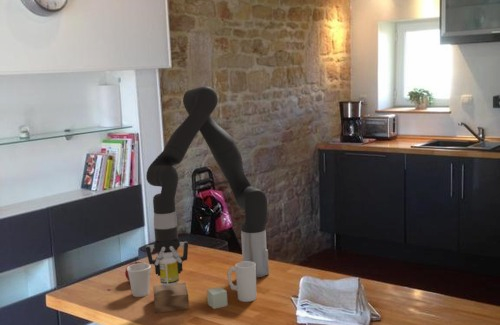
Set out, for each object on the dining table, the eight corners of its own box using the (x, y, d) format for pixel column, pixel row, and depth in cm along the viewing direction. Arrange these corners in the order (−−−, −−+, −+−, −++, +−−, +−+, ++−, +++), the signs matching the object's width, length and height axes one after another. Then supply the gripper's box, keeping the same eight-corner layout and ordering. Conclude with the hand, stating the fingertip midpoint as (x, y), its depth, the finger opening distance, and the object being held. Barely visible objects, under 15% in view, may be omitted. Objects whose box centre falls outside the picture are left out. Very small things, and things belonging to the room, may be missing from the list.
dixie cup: (136, 288, 206) (134, 262, 204) (156, 290, 203) (154, 263, 201) (124, 297, 198) (121, 269, 197) (145, 299, 195) (143, 271, 194)
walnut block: (186, 296, 196) (185, 282, 195) (189, 308, 185) (188, 294, 185) (154, 300, 194) (153, 286, 193) (155, 312, 183) (154, 298, 183)
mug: (259, 295, 194) (258, 261, 192) (253, 303, 187) (251, 268, 186) (232, 293, 197) (230, 260, 195) (225, 300, 191) (223, 266, 189)
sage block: (221, 300, 191) (220, 286, 190) (227, 305, 186) (226, 291, 186) (207, 304, 189) (206, 289, 188) (213, 309, 184) (212, 294, 184)
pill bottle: (181, 279, 191) (178, 248, 190) (176, 286, 185) (174, 253, 184) (163, 279, 192) (160, 248, 190) (158, 286, 186) (155, 254, 184)
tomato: (129, 287, 207) (127, 266, 206) (123, 280, 215) (121, 260, 214) (152, 282, 211) (151, 262, 210) (145, 276, 219) (144, 256, 218)
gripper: (186, 220, 191) (189, 268, 193) (143, 224, 188) (147, 272, 191) (188, 225, 183) (191, 275, 186) (143, 230, 181) (147, 280, 183)
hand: (169, 273), depth 188 cm, fingers closed on pill bottle, 6 cm apart
